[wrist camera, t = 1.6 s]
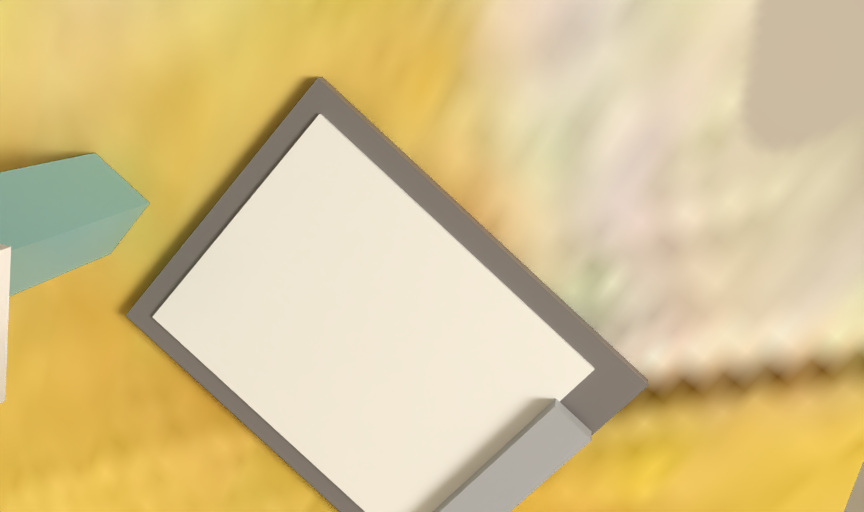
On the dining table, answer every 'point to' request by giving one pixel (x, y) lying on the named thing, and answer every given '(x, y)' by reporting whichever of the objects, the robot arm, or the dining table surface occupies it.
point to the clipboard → (379, 327)
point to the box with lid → (63, 216)
